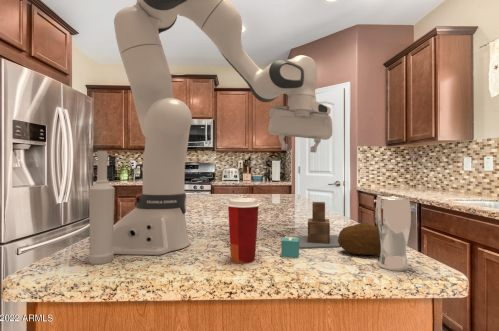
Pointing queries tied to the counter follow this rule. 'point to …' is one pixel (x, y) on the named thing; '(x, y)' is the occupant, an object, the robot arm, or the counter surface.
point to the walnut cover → (318, 225)
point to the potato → (360, 239)
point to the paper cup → (243, 229)
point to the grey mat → (304, 243)
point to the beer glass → (393, 231)
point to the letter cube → (290, 247)
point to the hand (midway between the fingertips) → (299, 151)
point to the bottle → (101, 215)
